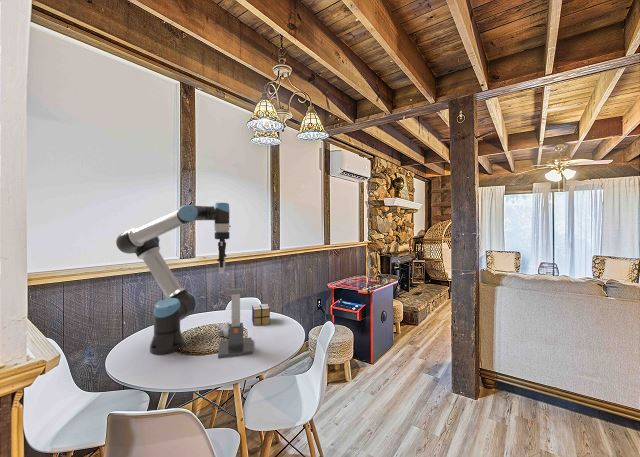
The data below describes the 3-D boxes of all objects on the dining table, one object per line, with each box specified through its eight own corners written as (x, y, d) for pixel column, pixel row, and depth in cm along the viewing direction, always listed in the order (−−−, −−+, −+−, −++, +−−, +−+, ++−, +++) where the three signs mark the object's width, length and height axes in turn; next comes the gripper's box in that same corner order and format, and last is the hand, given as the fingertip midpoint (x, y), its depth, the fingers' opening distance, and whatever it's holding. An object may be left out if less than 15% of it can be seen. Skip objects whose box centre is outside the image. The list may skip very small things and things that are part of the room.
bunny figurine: (219, 333, 153) (214, 321, 165) (219, 342, 153) (213, 329, 166) (237, 329, 157) (230, 318, 170) (237, 338, 158) (230, 326, 171)
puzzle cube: (252, 320, 183) (252, 304, 182) (267, 318, 186) (267, 303, 185) (253, 326, 173) (253, 309, 173) (269, 324, 176) (270, 308, 176)
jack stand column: (227, 335, 140) (227, 290, 139) (227, 331, 144) (227, 288, 143) (244, 333, 142) (244, 289, 141) (244, 330, 146) (244, 287, 146)
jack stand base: (218, 358, 134) (217, 333, 133) (219, 343, 149) (219, 321, 149) (253, 353, 138) (253, 330, 138) (251, 340, 154) (251, 318, 153)
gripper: (228, 232, 142) (229, 275, 143) (229, 230, 166) (230, 266, 167) (212, 233, 140) (212, 276, 141) (216, 230, 164) (216, 267, 164)
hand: (222, 271), depth 154 cm, fingers open, 13 cm apart
